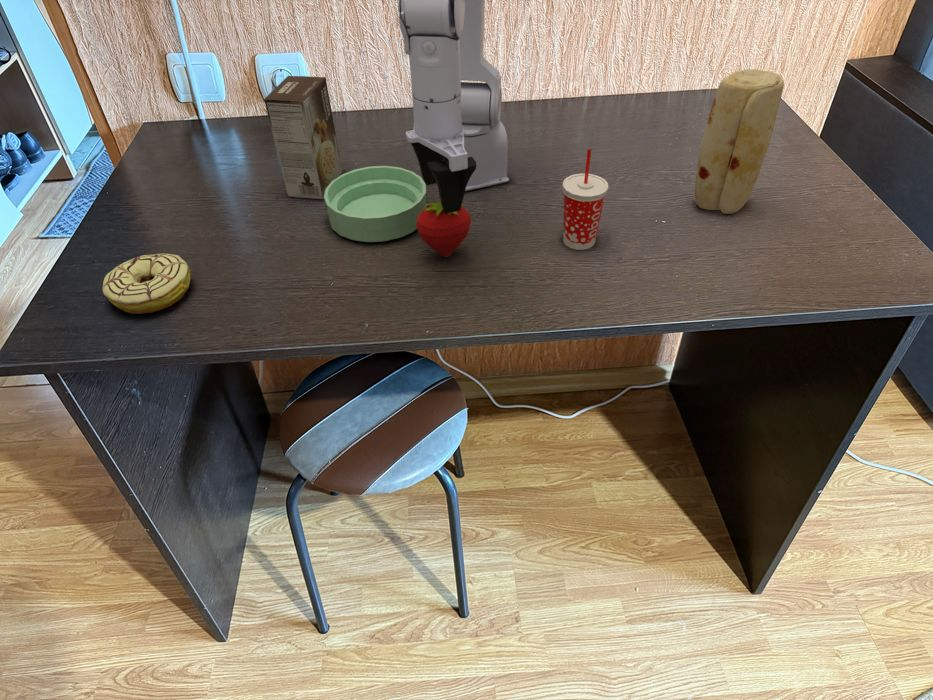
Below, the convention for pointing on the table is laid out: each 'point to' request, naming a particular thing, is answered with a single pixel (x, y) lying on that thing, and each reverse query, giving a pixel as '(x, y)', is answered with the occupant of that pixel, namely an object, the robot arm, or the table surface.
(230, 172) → the table surface
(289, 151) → the coffee box
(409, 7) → the robot arm
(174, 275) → the decorated donut
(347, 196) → the mint green dish
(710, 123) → the food model
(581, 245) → the beverage cup
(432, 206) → the strawberry
